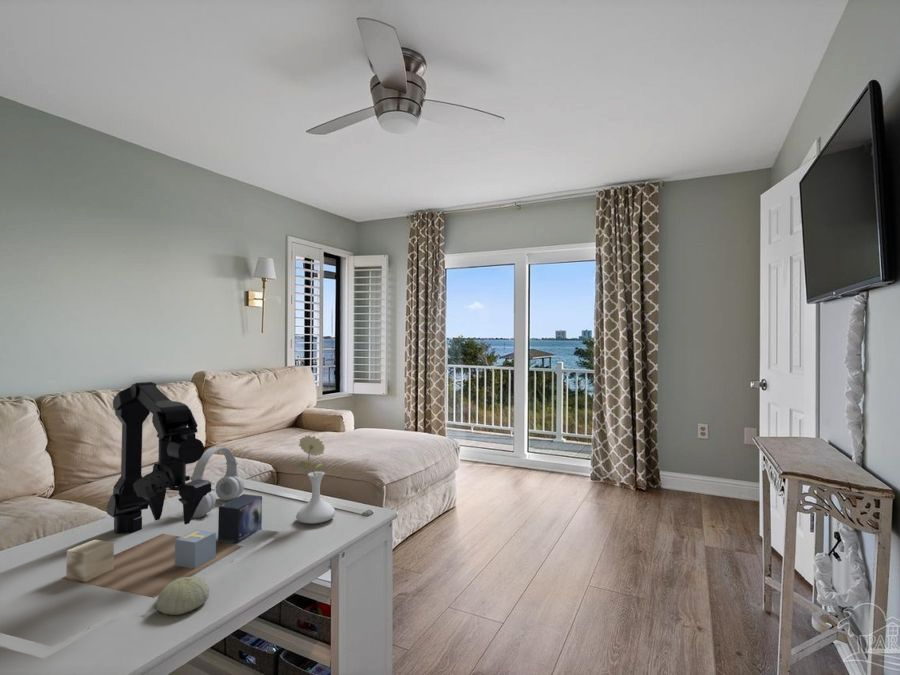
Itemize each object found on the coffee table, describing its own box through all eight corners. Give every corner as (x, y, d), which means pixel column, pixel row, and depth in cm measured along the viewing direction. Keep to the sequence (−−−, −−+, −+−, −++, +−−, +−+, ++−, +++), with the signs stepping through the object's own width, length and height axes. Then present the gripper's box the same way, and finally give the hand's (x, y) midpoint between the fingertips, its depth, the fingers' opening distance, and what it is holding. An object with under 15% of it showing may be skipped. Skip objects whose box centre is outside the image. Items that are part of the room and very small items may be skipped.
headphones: (222, 496, 159) (222, 441, 160) (245, 497, 158) (245, 441, 158) (181, 518, 139) (181, 454, 140) (207, 519, 138) (207, 455, 139)
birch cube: (66, 578, 101) (66, 550, 101) (94, 565, 107) (94, 539, 107) (85, 582, 99) (86, 554, 100) (113, 569, 105) (113, 542, 105)
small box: (238, 548, 118) (238, 508, 118) (216, 546, 120) (216, 506, 120) (263, 532, 129) (263, 494, 129) (242, 530, 130) (242, 493, 130)
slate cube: (195, 542, 105) (195, 568, 105) (215, 532, 111) (215, 557, 111) (175, 539, 107) (174, 565, 107) (196, 529, 113) (196, 554, 113)
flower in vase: (343, 517, 139) (343, 435, 139) (314, 530, 129) (314, 441, 130) (314, 509, 146) (314, 430, 146) (284, 521, 136) (284, 437, 137)
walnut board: (60, 584, 101) (60, 578, 101) (162, 538, 125) (162, 533, 125) (154, 603, 93) (154, 597, 93) (243, 550, 117) (243, 546, 117)
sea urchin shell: (175, 615, 86) (159, 577, 89) (159, 636, 89) (144, 598, 92) (221, 592, 94) (205, 558, 97) (205, 612, 96) (190, 578, 100)
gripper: (110, 462, 106) (110, 530, 106) (173, 468, 101) (172, 540, 101) (154, 452, 117) (154, 513, 117) (213, 456, 112) (213, 521, 111)
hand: (172, 521), depth 111 cm, fingers open, 9 cm apart
